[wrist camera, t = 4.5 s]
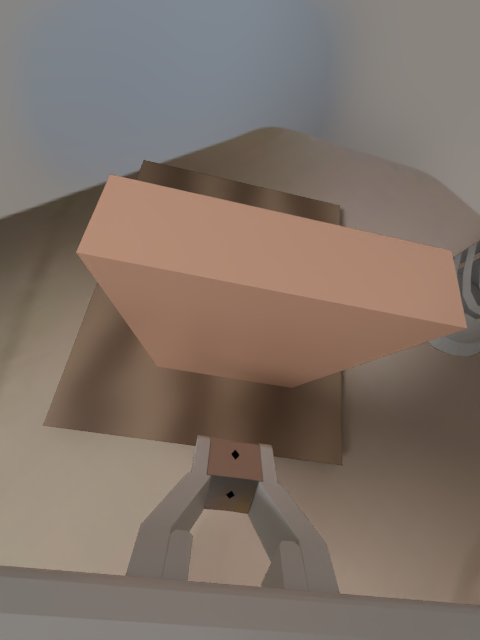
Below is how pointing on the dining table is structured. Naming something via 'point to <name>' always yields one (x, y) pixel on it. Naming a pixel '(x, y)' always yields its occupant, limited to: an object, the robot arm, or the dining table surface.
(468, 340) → the french press
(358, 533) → the dining table surface
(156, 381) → the board
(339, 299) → the tile
